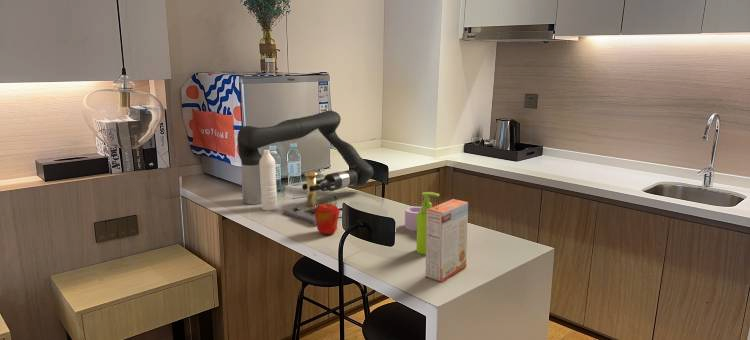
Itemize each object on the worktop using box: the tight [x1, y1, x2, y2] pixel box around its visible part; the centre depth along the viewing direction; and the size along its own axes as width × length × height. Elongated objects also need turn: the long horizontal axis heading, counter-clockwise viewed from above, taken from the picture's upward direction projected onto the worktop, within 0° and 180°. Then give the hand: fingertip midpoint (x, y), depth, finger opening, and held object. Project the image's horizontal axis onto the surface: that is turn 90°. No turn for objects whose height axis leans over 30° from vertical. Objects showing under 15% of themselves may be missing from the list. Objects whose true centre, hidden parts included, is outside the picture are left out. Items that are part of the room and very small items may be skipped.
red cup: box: [315, 202, 340, 236], centre depth 182 cm, size 9×8×12 cm
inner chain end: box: [282, 205, 315, 225], centre depth 202 cm, size 19×9×2 cm, turn 47°
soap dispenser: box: [416, 191, 440, 256], centre depth 164 cm, size 6×7×20 cm
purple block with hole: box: [404, 205, 421, 232], centre depth 185 cm, size 20×12×7 cm, turn 54°
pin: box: [303, 170, 319, 208], centre depth 211 cm, size 6×6×15 cm
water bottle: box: [259, 149, 278, 211], centre depth 209 cm, size 9×6×25 cm
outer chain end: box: [297, 206, 317, 226], centre depth 197 cm, size 13×9×4 cm
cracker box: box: [425, 198, 469, 283], centre depth 148 cm, size 14×6×21 cm, turn 139°
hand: (306, 188), depth 209 cm, fingers closed on pin, 4 cm apart
